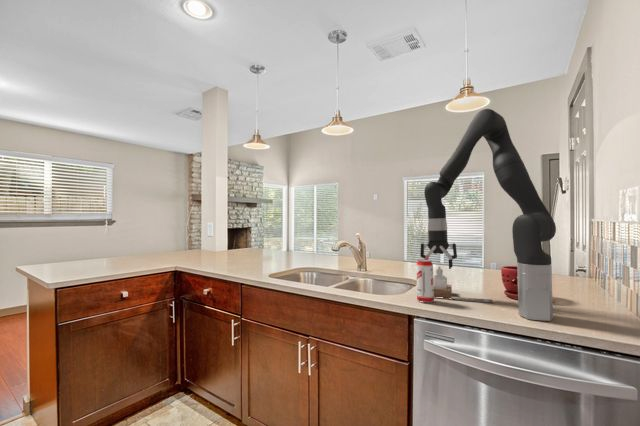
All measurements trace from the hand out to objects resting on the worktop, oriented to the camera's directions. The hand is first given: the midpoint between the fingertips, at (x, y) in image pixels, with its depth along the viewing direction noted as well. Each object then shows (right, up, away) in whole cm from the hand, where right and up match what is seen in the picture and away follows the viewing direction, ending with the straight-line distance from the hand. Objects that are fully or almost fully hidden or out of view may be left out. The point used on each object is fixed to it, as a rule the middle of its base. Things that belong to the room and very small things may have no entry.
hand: (438, 268), depth 131 cm
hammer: (+7, -11, -3) cm, 13 cm away
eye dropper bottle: (+1, -12, 0) cm, 12 cm away
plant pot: (+31, -11, -6) cm, 33 cm away
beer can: (-9, -12, -9) cm, 17 cm away
